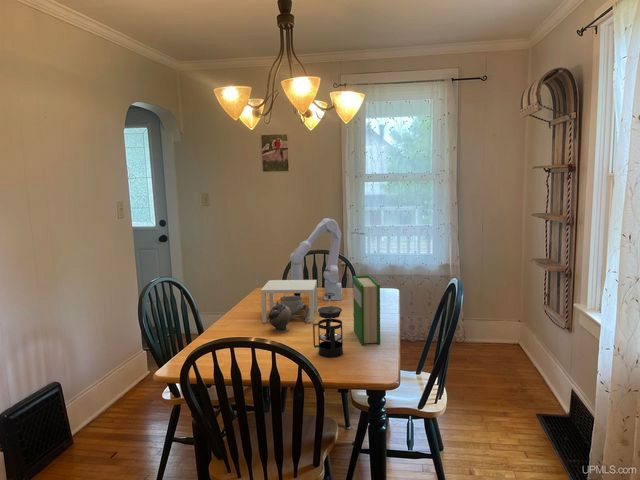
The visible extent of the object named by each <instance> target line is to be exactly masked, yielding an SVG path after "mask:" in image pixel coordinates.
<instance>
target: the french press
mask: <svg viewBox="0 0 640 480" xmlns="http://www.w3.org/2000/svg"><path fill="white" fill-rule="evenodd" d="M334 295H335V294H334V293H325V292H324V294H323V296H328V299H329V300H328V305H329V306H322V307H319V308H317V312H318V316H319V317H320V318H323V319H321V320H318V322H317V323H316V322H314V323H312V333H313V334H312V335H313V336H312V338H313V340H312V343H313V347H314V349H315V348H318V351H317V352H318V355H319V356H320V357H322V358H326V359H327V358H328V359H333V358H338V357H342V356H343V355H344V349H343V345H344V344H343V343H344V342H343V321H342V320H340V319H338V318H340V316H341V312H342V311H343V309H342V308H341V307H339V306H331V300H330V299H331V296H334ZM324 323H325V325H322V324H324ZM331 323H337V325H332V324H331ZM316 326H317V327H318V329H317V335H318V344H316V331H315V327H316ZM320 329H322V330H325V333H322V334H320ZM338 329H340V334H339V333H337V332H336V330H338Z"/></svg>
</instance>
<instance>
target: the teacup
mask: <svg viewBox="0 0 640 480" xmlns="http://www.w3.org/2000/svg"><path fill="white" fill-rule="evenodd" d="M283 296H284V297H283ZM283 296H281V297H280V298H279V299H280V301H281V302H280V301H279V303H281V304H283V305H286V306H287V307H288V308H289V309H290V311H291V315H299V313H300V312H301V311H302V310H301V309H302V308H303V305H304V302H303V297H301V296H300V297H299V296H294V295H283Z"/></svg>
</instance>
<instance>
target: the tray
mask: <svg viewBox="0 0 640 480" xmlns="http://www.w3.org/2000/svg"><path fill="white" fill-rule="evenodd" d="M309 308H310V304H303V308H302V309H301V311H303V314H294V315H291V317H290V320H289V322H290V321H291V322H297V321H298V322H305V319H306V317H307V314H308V311H309Z"/></svg>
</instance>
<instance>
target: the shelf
mask: <svg viewBox="0 0 640 480" xmlns="http://www.w3.org/2000/svg"><path fill="white" fill-rule="evenodd" d="M317 280H318V279H302V280H292V279H274V280H273V279H272V280H271V279H269V280H268V281H267V282H266V283H265V285H264V286H263V287H262V288H261V289H260V295H261V296H260V297H261V298H260V300H261V320H262V321H261V323H263V324H266V323H267V322H268V323H270V322H269V321H268V317H267V316H268V315H267V313H268V312H267V294H268V300H269V302H268V303H269V304H268V305H269V312H270V311H271V310H272V308H273V307H275V305H274V302H275V301H274V294H294V293H301V294H308V295H309V298H308V299H309V300H308V301H309V310H308V313H307V316H306V319H305V321H304V322H305V323H306V324H308V321H309V323H310V324H314V323H315V312H318V283H317V282H318V281H317ZM284 296H285V295H283V296H282V297H284ZM280 302H281V300H280V301H279V302H278V304H281V303H280Z"/></svg>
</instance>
